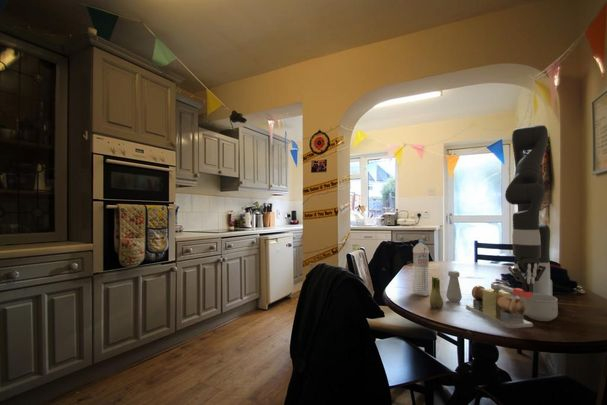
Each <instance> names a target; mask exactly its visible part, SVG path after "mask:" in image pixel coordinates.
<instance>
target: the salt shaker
mask: <svg viewBox="0 0 607 405" xmlns="http://www.w3.org/2000/svg"><path fill="white" fill-rule="evenodd" d="M447 275H448V276H449V280H448V285H447V290H446V295H445V296H446V298H447V301H448V302H449V303H452V304H459V303H460V302H461V300H462V298H463V296H462V295H463V294H462V290H461V286H460V281H459V278H460V276H461V275H460V272H459V271H457V270H453V269H452V270H449V271H448V272H447Z"/></svg>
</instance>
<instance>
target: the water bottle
mask: <svg viewBox="0 0 607 405" xmlns="http://www.w3.org/2000/svg"><path fill="white" fill-rule="evenodd" d="M423 242H424V239H418V243H416V244H415V246H414V247H412V253H413V254H412V257H413V258H412V273H413V274H412V290H413V291H412V293H413V294H414V295H415V296H419V297H428V296H429V294H430V279H429V278H430V266H429V262H430V261H429V260H430V258H429V257H430V256H429V253H430V250H429V248H428V246H427V245H426V244H424V243H423Z"/></svg>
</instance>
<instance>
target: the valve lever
mask: <svg viewBox="0 0 607 405" xmlns="http://www.w3.org/2000/svg"><path fill="white" fill-rule="evenodd" d="M490 289H495V290H502V291H505V292H508V293H512V295H513V296H515V297H516V296H517V297H519V296H520V297H523V298H526V299H528V298H532V292H530V291H527V290H523V289H522V288H519V287H517V288H513V287H509V286H505V285H502V284H501V283H497V282H496V283H494V282H493V283H490ZM520 297H519V298H520Z"/></svg>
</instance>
